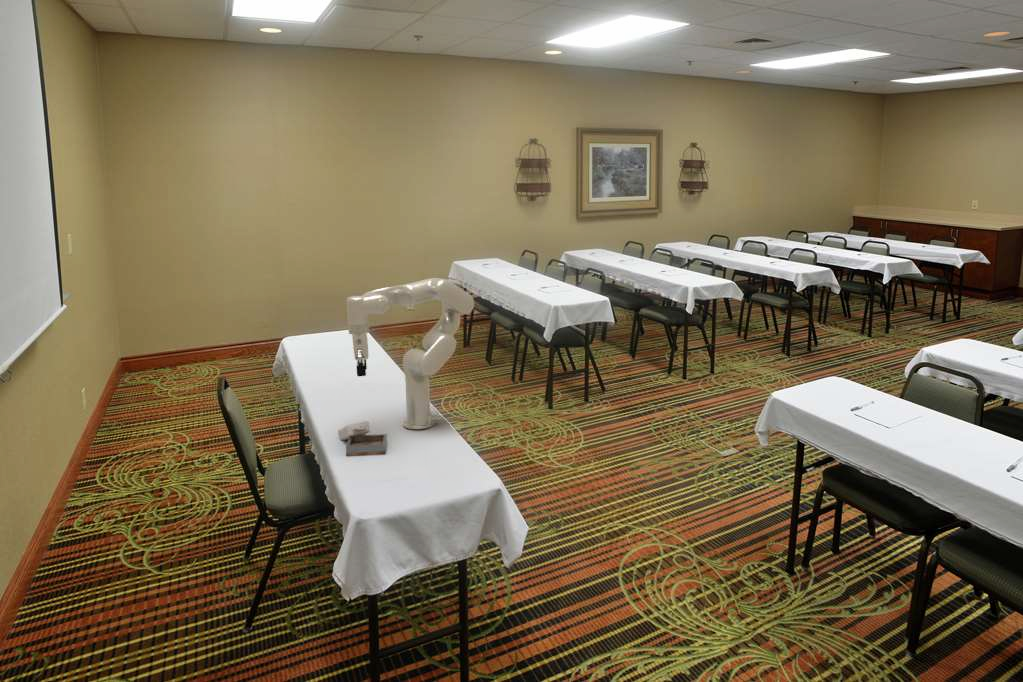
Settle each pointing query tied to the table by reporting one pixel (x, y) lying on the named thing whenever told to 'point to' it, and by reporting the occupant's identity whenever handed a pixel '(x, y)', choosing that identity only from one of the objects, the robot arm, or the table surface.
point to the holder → (366, 445)
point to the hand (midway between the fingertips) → (362, 372)
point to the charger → (354, 430)
